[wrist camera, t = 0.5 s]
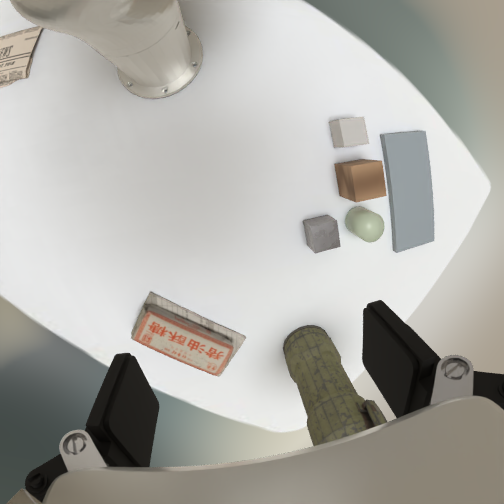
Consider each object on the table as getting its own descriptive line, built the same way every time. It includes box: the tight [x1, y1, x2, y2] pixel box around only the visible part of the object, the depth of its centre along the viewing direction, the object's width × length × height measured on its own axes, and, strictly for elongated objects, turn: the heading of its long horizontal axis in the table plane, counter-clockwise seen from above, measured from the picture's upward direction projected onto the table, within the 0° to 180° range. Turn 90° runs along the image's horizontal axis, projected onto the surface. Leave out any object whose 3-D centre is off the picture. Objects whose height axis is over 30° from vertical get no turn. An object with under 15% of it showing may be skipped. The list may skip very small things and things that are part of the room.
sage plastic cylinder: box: [345, 207, 384, 242], centre depth 43 cm, size 4×4×5 cm
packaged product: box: [131, 292, 246, 376], centre depth 47 cm, size 18×5×10 cm
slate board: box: [380, 131, 434, 253], centre depth 44 cm, size 20×9×1 cm, turn 13°
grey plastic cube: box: [329, 117, 369, 148], centre depth 38 cm, size 4×4×4 cm
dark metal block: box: [303, 215, 340, 253], centre depth 43 cm, size 4×4×4 cm
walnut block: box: [334, 159, 386, 202], centre depth 40 cm, size 5×5×6 cm
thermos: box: [283, 325, 387, 446], centre depth 35 cm, size 9×12×35 cm
